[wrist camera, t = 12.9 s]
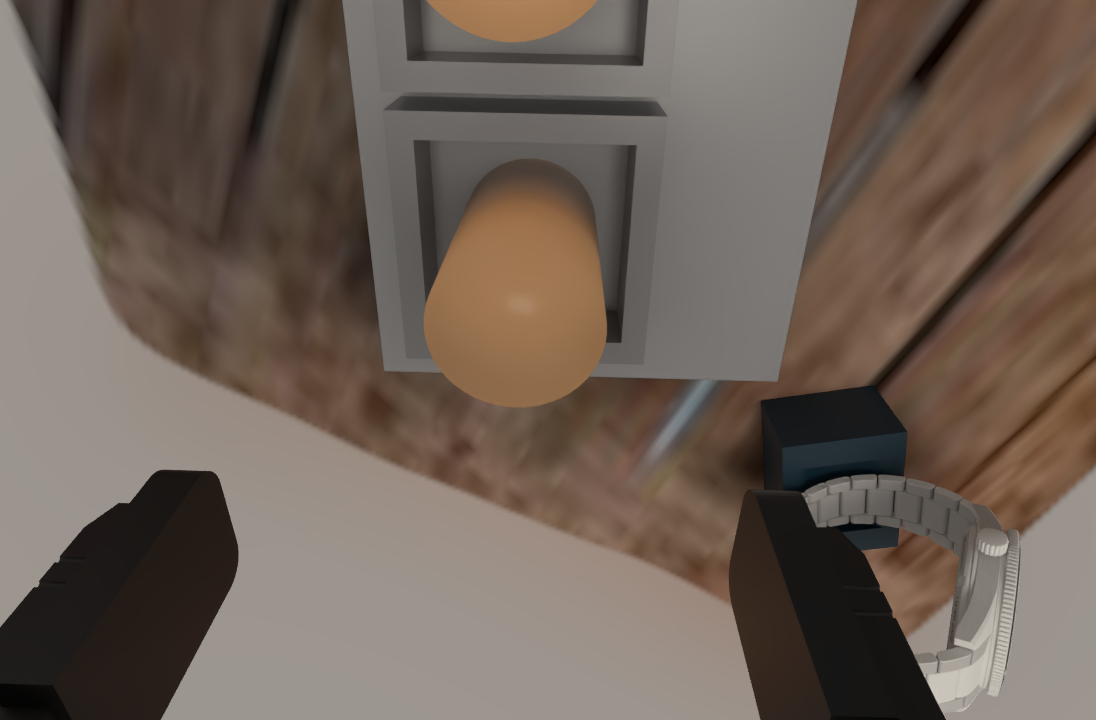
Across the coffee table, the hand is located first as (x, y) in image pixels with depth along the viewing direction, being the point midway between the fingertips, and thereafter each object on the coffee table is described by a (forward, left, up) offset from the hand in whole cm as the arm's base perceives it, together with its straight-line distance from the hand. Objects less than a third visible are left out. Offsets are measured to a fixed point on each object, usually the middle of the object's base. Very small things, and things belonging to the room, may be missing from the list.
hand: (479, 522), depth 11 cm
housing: (-3, +2, -15) cm, 16 cm away
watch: (+10, +12, -16) cm, 22 cm away
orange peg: (0, 0, -15) cm, 15 cm away
